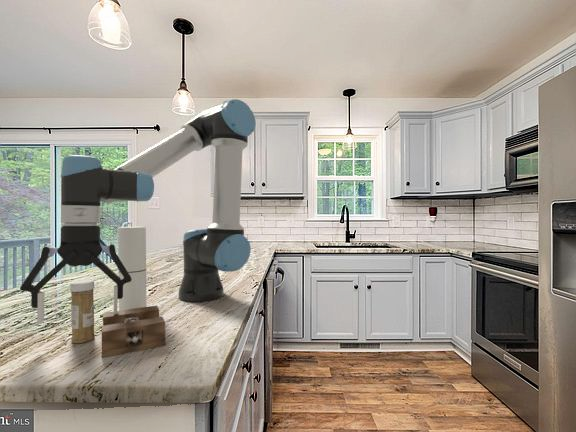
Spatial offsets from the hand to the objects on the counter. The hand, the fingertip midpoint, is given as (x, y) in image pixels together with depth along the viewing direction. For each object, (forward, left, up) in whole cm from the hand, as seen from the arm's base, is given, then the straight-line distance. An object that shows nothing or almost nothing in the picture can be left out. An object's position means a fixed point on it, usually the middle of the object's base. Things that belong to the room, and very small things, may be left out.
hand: (79, 318), depth 71 cm
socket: (-11, +5, -5) cm, 13 cm away
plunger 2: (-11, +10, -4) cm, 15 cm away
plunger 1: (-11, 0, -4) cm, 11 cm away
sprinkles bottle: (-1, 0, -5) cm, 5 cm away
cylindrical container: (-12, -15, -5) cm, 20 cm away
